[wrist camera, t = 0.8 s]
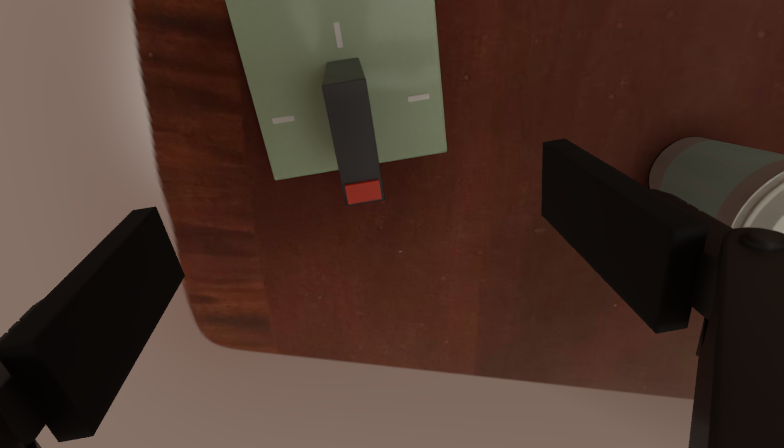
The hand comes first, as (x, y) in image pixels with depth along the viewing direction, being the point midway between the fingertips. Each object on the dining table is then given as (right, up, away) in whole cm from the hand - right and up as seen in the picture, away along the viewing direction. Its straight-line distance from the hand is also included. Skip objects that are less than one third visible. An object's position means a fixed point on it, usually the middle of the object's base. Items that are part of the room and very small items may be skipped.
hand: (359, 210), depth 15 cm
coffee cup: (+25, +4, +22) cm, 33 cm away
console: (-2, +10, +15) cm, 18 cm away
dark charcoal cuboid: (-1, +7, +13) cm, 15 cm away
